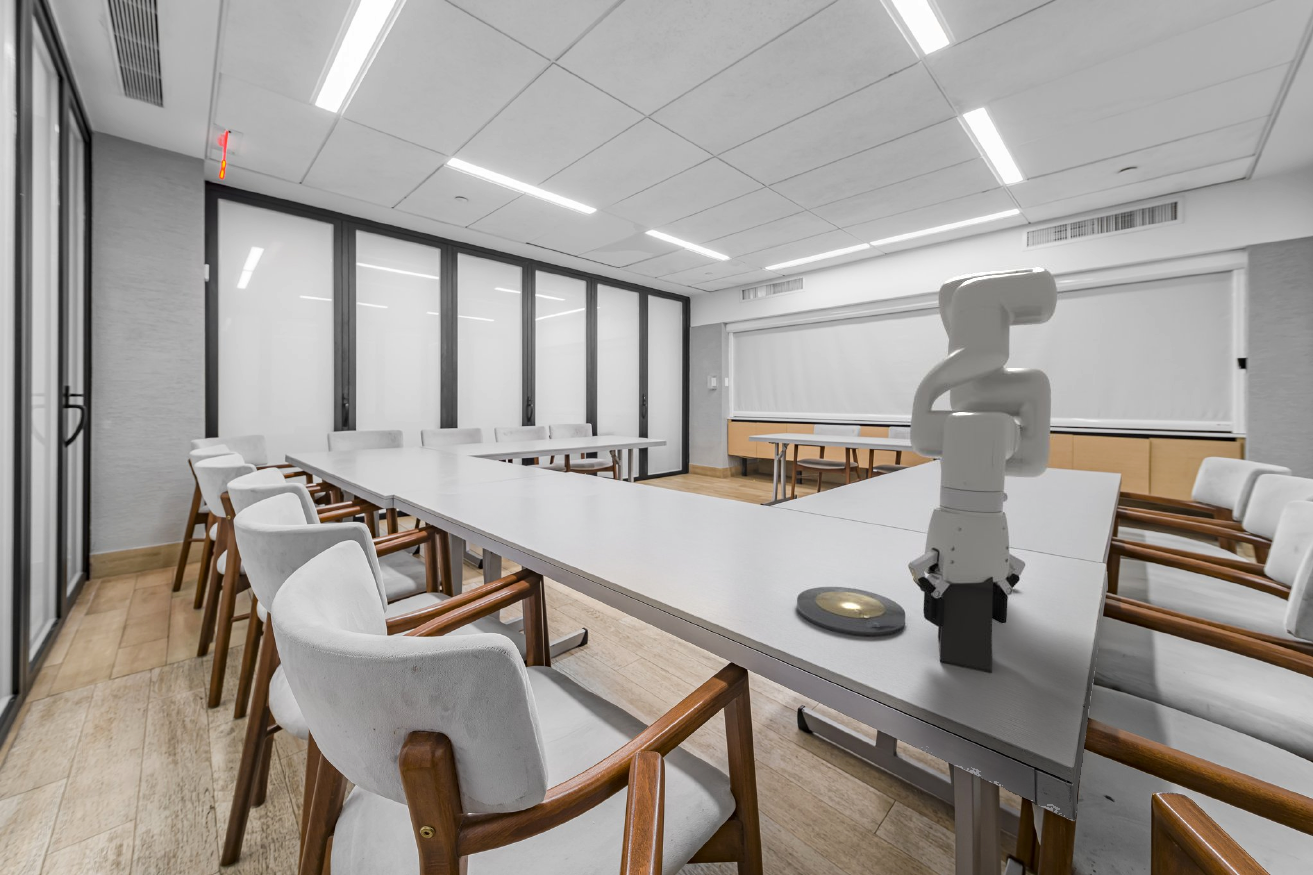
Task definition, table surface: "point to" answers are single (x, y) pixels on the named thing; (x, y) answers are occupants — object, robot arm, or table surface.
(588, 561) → the table surface
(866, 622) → the rosette plate
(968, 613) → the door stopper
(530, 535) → the table surface
